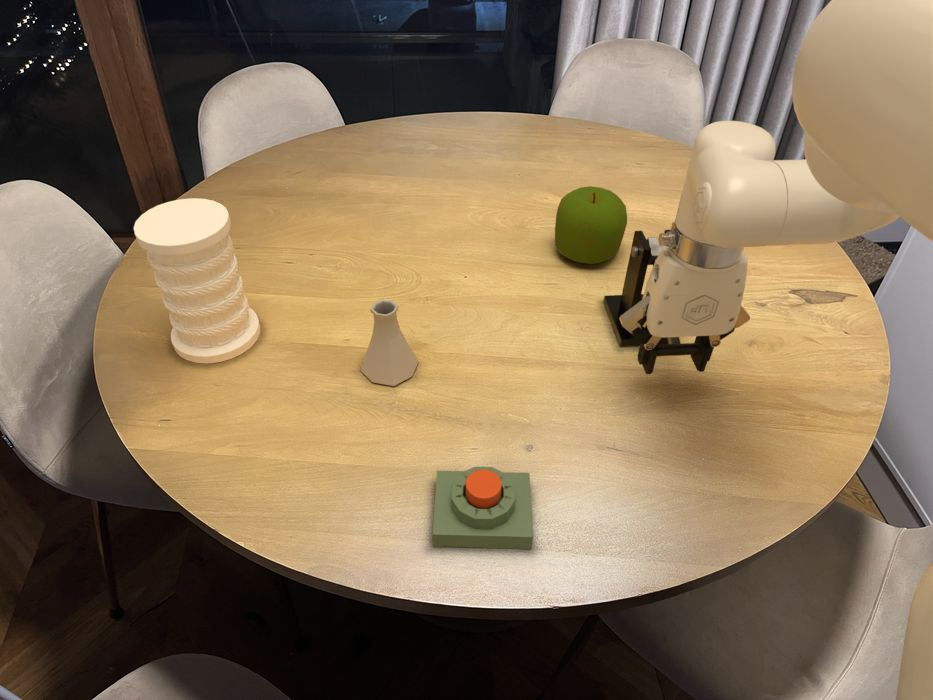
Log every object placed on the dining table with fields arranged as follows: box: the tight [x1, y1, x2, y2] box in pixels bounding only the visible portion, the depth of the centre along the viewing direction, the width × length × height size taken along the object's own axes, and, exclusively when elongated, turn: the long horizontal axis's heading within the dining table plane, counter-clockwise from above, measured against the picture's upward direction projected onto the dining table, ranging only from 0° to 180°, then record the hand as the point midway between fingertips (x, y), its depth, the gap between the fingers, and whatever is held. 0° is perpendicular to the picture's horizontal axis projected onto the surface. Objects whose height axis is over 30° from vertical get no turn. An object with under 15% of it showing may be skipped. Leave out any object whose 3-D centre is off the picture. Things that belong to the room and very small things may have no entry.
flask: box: [359, 298, 420, 387], centre depth 85 cm, size 7×7×10 cm
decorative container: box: [133, 197, 261, 364], centre depth 87 cm, size 12×12×18 cm
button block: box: [432, 466, 534, 550], centre depth 70 cm, size 10×8×4 cm
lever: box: [646, 236, 698, 357], centre depth 85 cm, size 16×5×2 cm, turn 5°
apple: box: [554, 185, 628, 265], centre depth 105 cm, size 11×11×11 cm
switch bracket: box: [603, 229, 671, 347], centre depth 91 cm, size 10×8×14 cm
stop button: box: [466, 470, 502, 508], centre depth 69 cm, size 4×4×2 cm
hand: (671, 364), depth 84 cm, fingers open, 5 cm apart
